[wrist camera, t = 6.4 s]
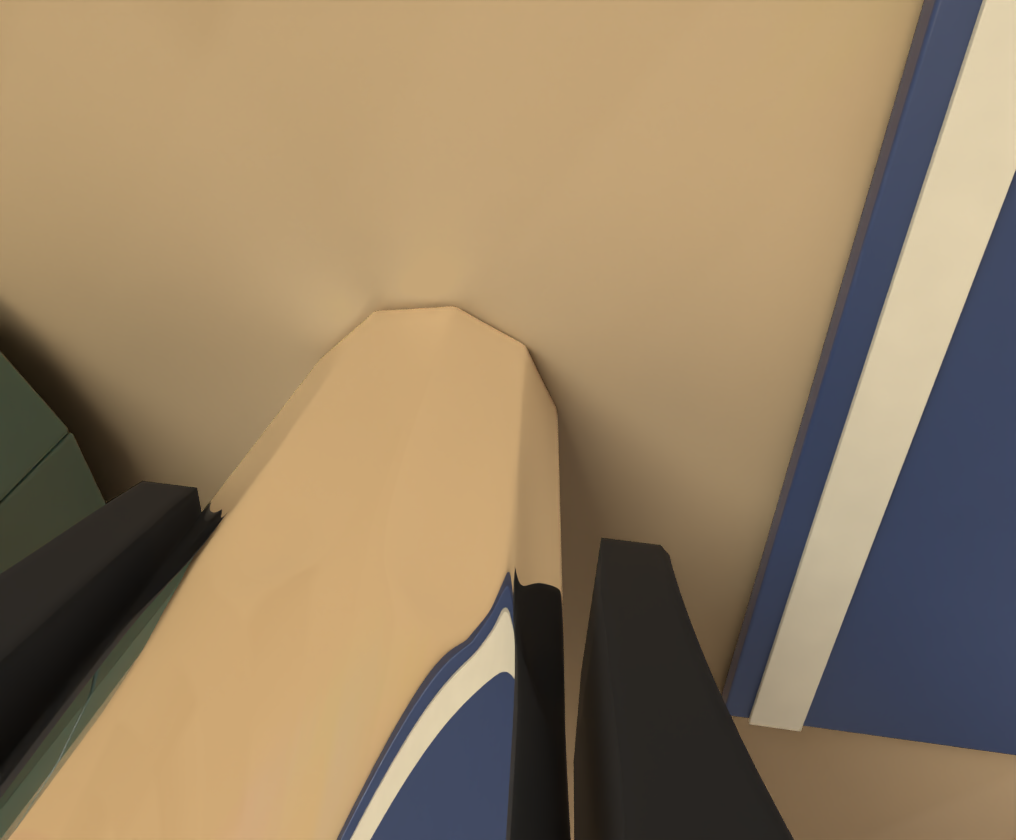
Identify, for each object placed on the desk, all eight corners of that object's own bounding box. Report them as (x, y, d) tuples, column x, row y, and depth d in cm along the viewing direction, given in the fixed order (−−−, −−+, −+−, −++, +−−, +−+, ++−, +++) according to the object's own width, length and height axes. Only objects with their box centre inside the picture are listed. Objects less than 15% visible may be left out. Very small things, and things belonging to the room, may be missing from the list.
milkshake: (398, 606, 14) (63, 1760, 5) (203, 325, 11) (-965, 1669, 3) (672, 533, 12) (790, 1941, 4) (521, 194, 10) (1, 2063, 2)
